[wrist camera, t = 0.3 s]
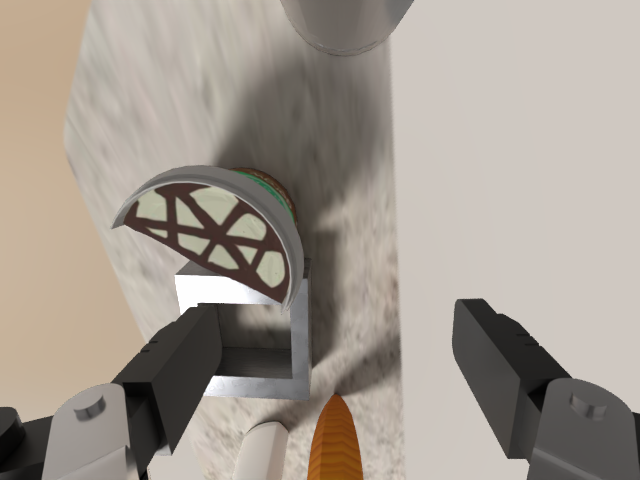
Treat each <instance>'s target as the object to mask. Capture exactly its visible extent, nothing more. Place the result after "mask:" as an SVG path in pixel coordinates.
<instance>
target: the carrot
mask: <svg viewBox="0 0 640 480" xmlns="http://www.w3.org/2000/svg"><path fill="white" fill-rule="evenodd" d="M307 480H363V471H362V463H361V455H360V449H359V443H358V438H357V434H356V430H355V426H354V422H353V419H352V415H351V413H350V411H349V409H348V406H347V405H346V403H345V402H344V400H343V399H342V397H341V396H339V395H337V394H335V395H333V396H332V397H331V398H330V400H329V401H328V402H327V404H326V405H325V407H324V408H323V410H322V412H321V414H320V416H319V419H318V422H317V426H316V429H315V433H314V437H313V441H312V445H311V452H310V459H309V467H308V476H307Z"/></svg>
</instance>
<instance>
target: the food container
mask: <svg viewBox="0 0 640 480" xmlns="http://www.w3.org/2000/svg"><path fill="white" fill-rule="evenodd" d="M122 225H126V226H128V227H130V228H132V229H133V230H135V231H138V232H141V233H143V234H145V235H148V236H150V237H152V238H153V239H155V240H157V241H159V242H161V243H163V244H165V245H167V246H168V247H170V248H172V249H174V250H175V251H177V252H178V253H180V254H181V255H183V256H185V257H186V258H188V259H189V260H191V261H193V262H195V263H196V264H198V265H200V266H201V267H203V268H205V269H208V270H210V271H212V272H214V273H217V274H219V275H222V276H224V277H227V278H230V279H232V280H234V281H237V282H239V283H241V284H244V285H246V286H248V287H250V288H252V289H254V290H256V291H258V292H259V293H261V294H263V295H265V296H267V297H269V298H271V299H273V300H275V301H277V302H279V303H281V304H282V309H281V315H282V314H283V312H284V310H286V311H288V309H289V308H290V306H291V305H292V303H293V302H294V300H295V298H296V296H297V294H298V292H299V289H300V286H301V282H302V279H303V271H304V255H303V248H302V244H301V240H300V236H299V234H298V231H297V216H296V211H295V206H294V203H293V201H292V200H291V198H290V196H289V194H288V192H287V190H286V189H285V188H284V187H283V186H282V185H281V184H280V183H279V182H278V181H277V180H276V179H274V178H273V177H271V176H270V175H268V174H266V173H264V172H262V171H259V170H255V169H250V168H233V169H228V170H227V169H224V168H220V167H213V166H205V165H197V166H184V167H179V168H175V169H171V170H169V171H166V172H164V173H161V174H159V175H157V176H155V177H154V178H152V179H151V180H149V181H148V182H146V183H145V184H144V185H143V186H141V187H140V188H139V189H138V190H136V191H135V192H134V193H133V194H132V195H131V196H130V197H129V198H128V199H127V200H126V201H125V202H124V204H123V205H122V207H121V208H120V210H119V211H118V213H117V215H116V217H115V218H114V220H113V223H112V225H111V227H110V229H113V228H116V227H119V226H122Z"/></svg>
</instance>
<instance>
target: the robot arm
mask: <svg viewBox="0 0 640 480" xmlns="http://www.w3.org/2000/svg"><path fill="white" fill-rule="evenodd" d="M280 1H281V3H282V5H283V8H284V10H285V12H286V14H287V16H288V18H289V20H290V21H291V23H292V25H293V26H294V28H295V29H296V31H297V32H298V33H299V34H300V35H301V36H302V37H303V39H304V40H305V41H306V42H308V43H309V44H311V45H312V46H314V47H315V48H317V49H318V50H320V51H323V52H326V53H328V54H331V55H340V56H348V55H356V54H360V53H362V52H365V51H368V50H370V49H372V48H374V47H375V46H377V45H378V44H380V43H381V42H383V41H384V40H385V39H386V38H387V37H388V36H389V35H390V34H391V33H392V32H393V31H394V29H395V28H396V26H397V25H398V24H399V22H400V21H401V19H402V18H403V16H404V15H405V13H406V11H407V10H408V9H409V7H410V6H411V4H412V3H413V1H414V0H280ZM454 310H455V311H454V322H453V336H452V348H453V354H454V357H455V360H456V362H457V364H458V366H459V368H460V370H461V372H462V374H463V375H464V377H465V379H466V381H467V383H468V385H469V386H470V389H471V391H472V392H473V394H474V396H475V398H476V400H477V402H478V403H479V406H480V408H481V409H482V411H483V413H484V415H485V417H486V419H487V421H488V423H489V425H490V426H491V428H492V430H493V432H494V434H495V436H496V438H497V440H498V442H499V443H500V445H501V447H502V449H503V451H504V453H505V455H506V456H507V458H508V459H527V461H528V463H529V464H530V466H529V471H528V475H527V480H640V414H639V413H635V412H631V410H630V409H629V408H628V406H627V405H626V404H625V403H624V402H623V401H622V400H621V399H619V398H618V397H617V396H615V395H614V394H612V393H611V392H609V391H607V390H606V389H604V388H602V387H600V386H597V385H595V384H592V383H590V382H586V381H583V380H579V379H573V378H572V377H571V376H570V375H569V374H568V373H567V372H566V371H565V370H564V369H563V368H562V367H561V366H560V365H559V364H558V363H557V361H556V360H555V359H554V358H553V357H552V356H551V355H550V354H549V353H548V352H547V351H546V350H545V349H544V348H543V347H542V346H539V343H538V342H537V341H536V340H535V339H534V338H533V337H532V336H530V334H529V333H528V332H527V331H526V330H525V329H524V328H523V327H522V326H521V325H520V324H519V323H518V322H516V321H515V320H513V319H511V318H509V317H508V316H506V315H504V314H497V313H496V312H495V311H494V310H493V309H492V308H491V307H490V306H489V305H488V303H487V302H486V301H485V300H484V299H458V300H457V301H456V303H455V309H454ZM221 357H222V343H221V337H220V332H219V327H218V321H217V316H216V311H215V309H214V307H213V306H191V307H188V308H187V309H186V310H185V311H184V313H183V314H182V315H181V316H180V317H179V318H178V319H177V321H176V322H172V323H170V324H168V325H167V326H165V327H164V328H162V329H161V330H159V331H158V332H157V333H156V334H155V335H154V336H153V337H152V338H151V340H150V341H149V344H146V345H145V346H144V347H143V348H142V349H141V352H140V353H138V354H137V355H136V356H135V357H134V358H133V359H132V360H131V361H130V362H129V363H128V364H127V365H126V367H125V368H124V369H123V370H122V371H121V372H120V373H119V374H118V375H117V376H116V378H114V380H113V381H112V382H111V383H108V384H101V385H97V386H94V387H91V388H89V389H86V390H84V391H82V392H80V393H78V394H77V395H75V396H73V397H72V398H70V399H69V400H68V401H67V402H66V403H64V404H63V405H62V406H61V407H60V408H59V409H58V410H57V412H56V413H55V415H53V416H50V417H46V418H41V419H37V420H33V421H29V422H25V423H22V422H21V420H20V418H19V415H18V413H17V411H16V410H15V409H14V408H12V407H0V480H151V477H150V472H149V469H148V465H149V463H150V461H151V459H152V458H153V456H154V455H161V456H162V455H163V456H164V455H165V456H167V455H168V456H171V455H172V454H173V452H174V450H175V448H176V446H177V444H178V442H179V440H180V439H181V437H182V435H183V433H184V431H185V429H186V427H187V425H188V423H189V421H190V419H191V418H192V416H193V414H194V412H195V410H196V408H197V406H198V404H199V402H200V400H201V398H202V397H203V395H204V393H205V391H206V389H207V387H208V385H209V383H210V381H211V379H212V377H213V375H214V374H215V372H216V370H217V368H218V366H219V364H220V361H221Z"/></svg>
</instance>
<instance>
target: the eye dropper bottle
mask: <svg viewBox="0 0 640 480" xmlns="http://www.w3.org/2000/svg"><path fill="white" fill-rule="evenodd" d="M287 441H288V431H287V430H286V428H285V427H284V426H283V425H282V424H281V423H279V422H267V423H263V424H260V425H258V426H256V427H254V428H253V429H251V430H250V431H249V432H248V433H247V434H246V435H245V437H244V439H243V442H242V445H241V449H240V452H239V456H238V459H237V462H236V466H235V469H234V473H233V476H232V480H281V479H282V473H283V466H284V460H285V454H286V447H287Z"/></svg>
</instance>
